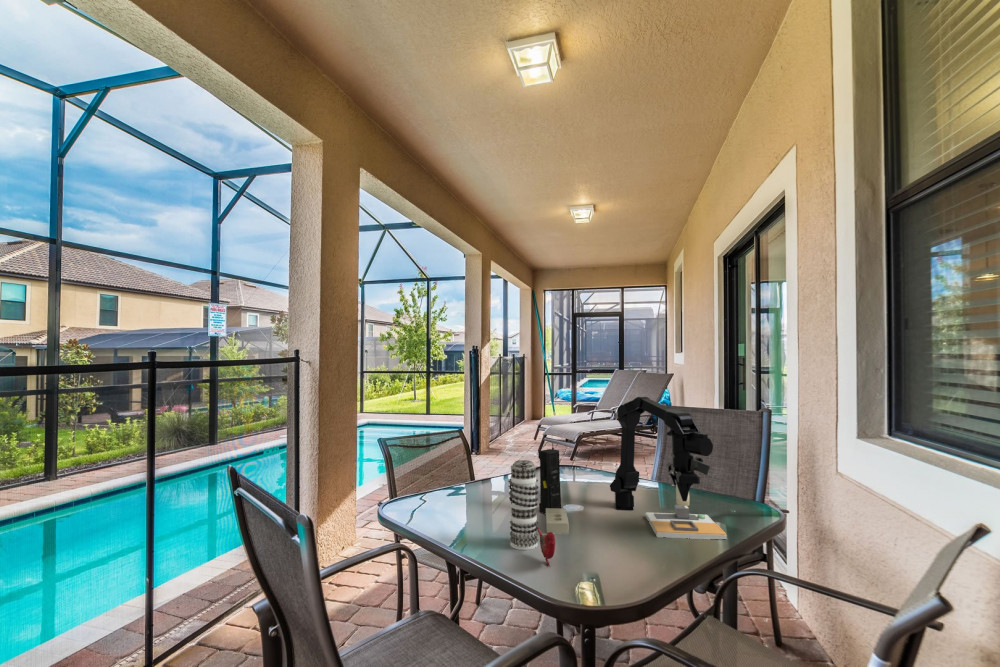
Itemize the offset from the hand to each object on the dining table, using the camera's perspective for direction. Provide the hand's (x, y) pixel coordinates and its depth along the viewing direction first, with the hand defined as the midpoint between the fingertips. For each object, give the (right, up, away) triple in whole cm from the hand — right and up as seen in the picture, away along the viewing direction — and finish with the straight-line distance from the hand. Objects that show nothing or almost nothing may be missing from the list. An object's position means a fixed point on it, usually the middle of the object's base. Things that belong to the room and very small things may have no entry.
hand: (682, 499), depth 150 cm
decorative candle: (-53, -11, -10) cm, 54 cm away
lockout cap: (0, -2, 0) cm, 2 cm away
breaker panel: (+2, -11, +4) cm, 12 cm away
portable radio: (-41, -13, +21) cm, 48 cm away
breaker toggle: (+4, -10, +10) cm, 14 cm away
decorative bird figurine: (-47, -10, -22) cm, 53 cm away
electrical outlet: (-40, -12, +8) cm, 43 cm away
